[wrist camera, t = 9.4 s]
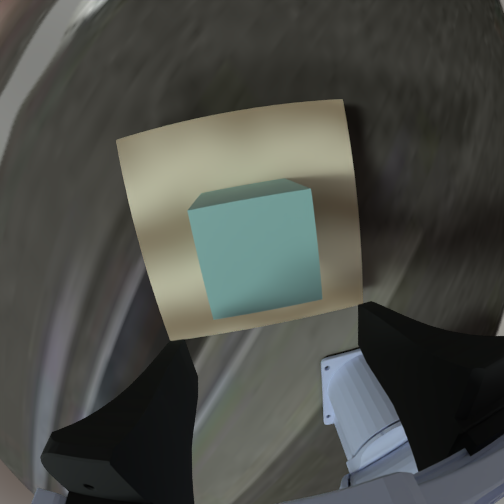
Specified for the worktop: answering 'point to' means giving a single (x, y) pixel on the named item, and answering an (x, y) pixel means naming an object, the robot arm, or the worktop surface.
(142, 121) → the worktop surface
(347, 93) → the worktop surface
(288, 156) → the birch base board
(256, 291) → the teal block
